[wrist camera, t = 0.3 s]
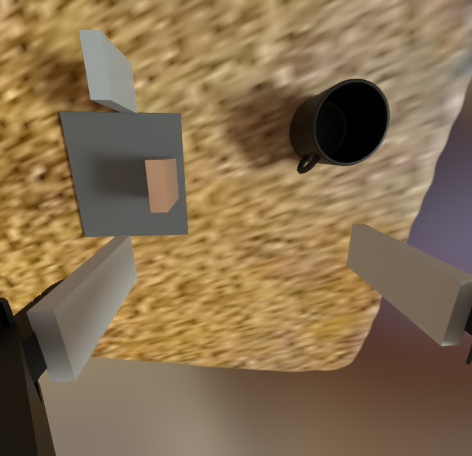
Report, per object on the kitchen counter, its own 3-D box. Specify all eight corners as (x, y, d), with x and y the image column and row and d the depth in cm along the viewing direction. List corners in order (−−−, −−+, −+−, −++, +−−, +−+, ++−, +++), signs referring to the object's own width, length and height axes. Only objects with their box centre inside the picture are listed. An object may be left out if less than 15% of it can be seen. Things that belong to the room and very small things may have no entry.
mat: (62, 112, 32) (59, 111, 32) (180, 114, 33) (179, 113, 33) (87, 235, 38) (85, 236, 37) (187, 233, 39) (187, 234, 38)
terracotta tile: (160, 158, 34) (143, 160, 26) (175, 158, 35) (163, 160, 26) (164, 198, 36) (149, 212, 28) (178, 198, 37) (167, 212, 28)
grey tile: (114, 63, 31) (76, 29, 22) (131, 63, 31) (100, 30, 23) (121, 113, 33) (88, 99, 24) (137, 113, 33) (110, 100, 24)
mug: (266, 152, 36) (282, 152, 28) (316, 81, 34) (351, 57, 25) (310, 187, 39) (337, 197, 30) (360, 123, 36) (406, 115, 28)
